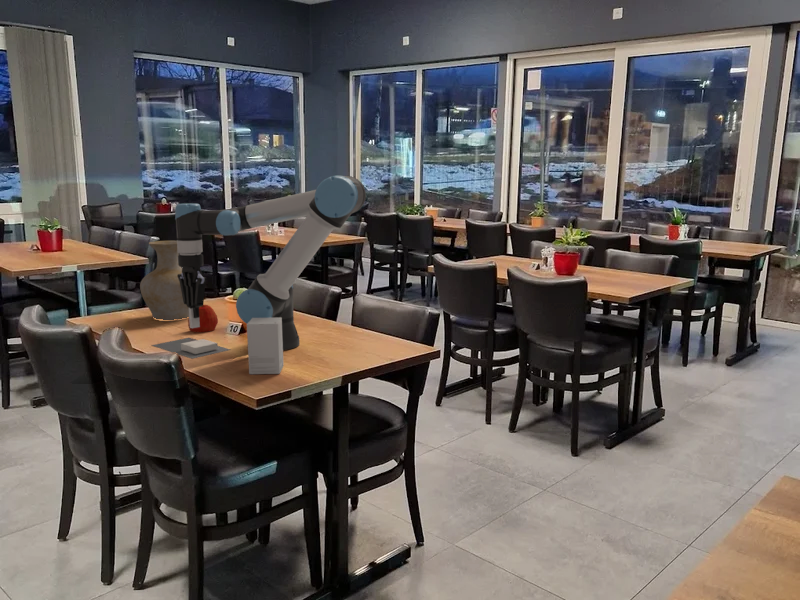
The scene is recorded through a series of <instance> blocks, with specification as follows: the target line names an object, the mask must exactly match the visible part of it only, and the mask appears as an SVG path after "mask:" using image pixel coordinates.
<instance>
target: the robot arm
mask: <svg viewBox="0 0 800 600" xmlns="http://www.w3.org/2000/svg"><path fill="white" fill-rule="evenodd" d="M366 194H367V193H366V190H365V187H364V184H363V183H362V182H361V181H360V180H359V179H358V178H356V177H354V176H351V175H339V174H338V175H337V174H336V175H331V176H328V177H327V178H325V179H323V180H322V181H321V182H320V183H319V184H318V185H317V187H316V189H312V190H310V191H304V192H299V193H296V194H291V195H287V196H283V197H279V198H273V199H270V200H269V199H268V200H265V201H261V202H256V203H250V204H247V205H243V206H238V207H233V208H228V209H218V210H217V209H216V210H215V209H213V210H203V209H202V207H201V205H200V204H199V203H178V204H176V205H175V207H174V208H175V209H174V210H175V213H174V214H175V216H174V217H175V218H174V220H175V229H176V241H177V252H178V253H179V255H178V265H179V266H180V267H181V268H182V273H181V274H178V275H177V276H178V279H179V281H180V287H181V292H182V297H183V302H184V304H186V305H187V307H188V310H189V318H188V320H189V324H190V328H197V327H200V321H199V307H200V306H203V305H204V300H205V289H206V283H207V277H206V276H203V275H202V270H201V267H202V266H204V254H203V252H204V251H203V236H205V235H207V236H209V235H210V236H214V235H215V236H223V237H226V236H235V235H238V233H239V232H244V231H246V230H251V229H255V228H259V227H264V226H269V225H275V224H276V223H282V222H286V221H292V220H296V219H297V220H298V219H301V218H304V220H303V221H302V222H301V224H300V225H299V227H297V229H296V231H295V232H294V233H293V235H292V236H291V237H290V238H289V240H288V242H287V243H286V244H285V246H284V247H283V248H282V250H281V252H280V253H279V254H278V255H277V257H276V258H275V260H274V261H273V262H272V264H271V265H270V266H269V268H268V269H267V271H266V272H265V273H259V274H258V275H257V276H256V278H255V279H254V280H253V281H252V283H251V284H250V286H248V288H247V289H245V290H244V291H242V292H241V293H240V294H239V295H238V297H237V299H236V303H235V307H236V313H237V315H238V317H239V318H240V319H241V321H243V322H244V323H245V324H246V325H247V323H248V322H249V321H250V320H251V319H252V318H280V317H281V318H282V340H283V351H287V350H291V349H295V348H297V347H299V346H300V336H299V334H298V330H297V328H296V325H295V322H294V319H295V318H294V317H295V316H294V283H295V282H296V280H297V279H298V278H299V276H300V275H301V273H303V271H304V269H305V268H307V266H308V264H309V263H310V262H311V260H312V259H313V258H314V256H315V255H316V253H317V252H318V251H319V250H320V248H321V247H322V245H323V244H324V243H325V241H326V240H327V238H328V237H329V236H330V234H331V233H332V232H333V230H340V229H341V228H342V227H343V225H345V223H346V222H347V220H348V219H349V217H350V216H351V215H352V214H354V213H356V212H358V211H359V210H360V209H361V208H362V207H363V205H364V204H365V201H366Z"/></svg>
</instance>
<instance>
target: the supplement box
mask: <svg viewBox="0 0 800 600" xmlns="http://www.w3.org/2000/svg"><path fill="white" fill-rule="evenodd" d="M246 334H247V335H246V337H247V354H248V355H247V356H248V359H247V360H248V374H249V375H279V374H281V371H282V370H283V368H284V350H283V340H282V318H281V317H280V318H252V319H251V320H250V321H249V322H248V323H247V324H246Z"/></svg>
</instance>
